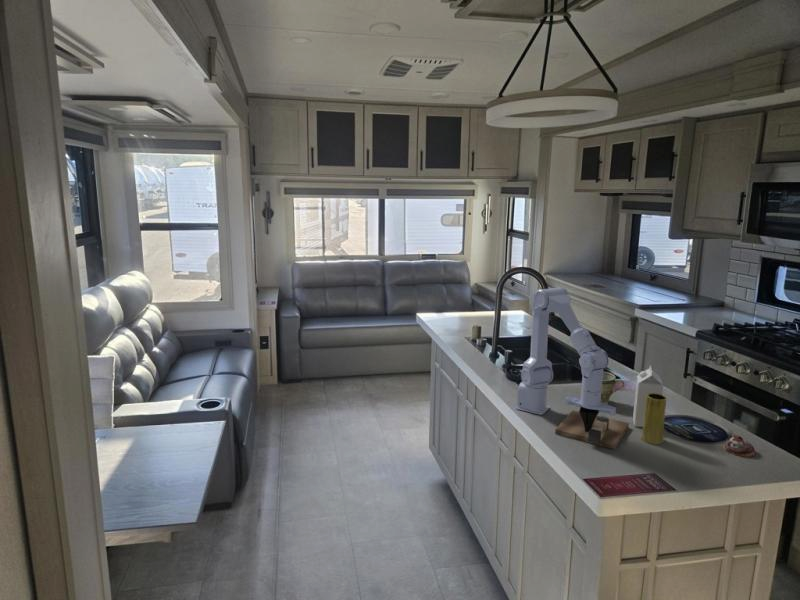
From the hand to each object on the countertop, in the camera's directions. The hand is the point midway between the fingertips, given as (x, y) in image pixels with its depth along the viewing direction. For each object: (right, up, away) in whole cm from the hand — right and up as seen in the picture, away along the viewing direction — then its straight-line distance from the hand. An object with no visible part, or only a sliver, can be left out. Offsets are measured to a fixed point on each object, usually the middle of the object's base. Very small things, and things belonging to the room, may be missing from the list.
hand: (588, 430), depth 167 cm
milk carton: (+23, -1, +11) cm, 25 cm away
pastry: (+42, -5, -6) cm, 43 cm away
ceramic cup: (+15, +3, +28) cm, 32 cm away
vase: (+20, -3, 0) cm, 20 cm away
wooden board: (+4, -1, +7) cm, 8 cm away
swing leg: (+3, -1, +1) cm, 4 cm away
